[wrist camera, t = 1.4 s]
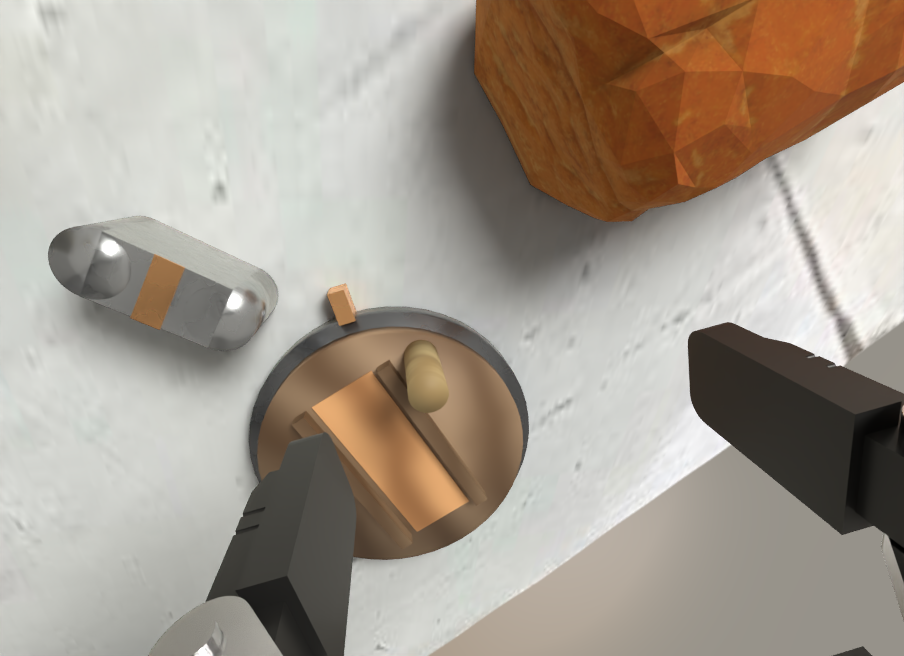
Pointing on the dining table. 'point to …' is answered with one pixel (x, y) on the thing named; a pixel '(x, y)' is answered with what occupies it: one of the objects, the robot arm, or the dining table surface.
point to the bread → (674, 88)
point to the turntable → (403, 434)
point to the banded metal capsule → (165, 280)
